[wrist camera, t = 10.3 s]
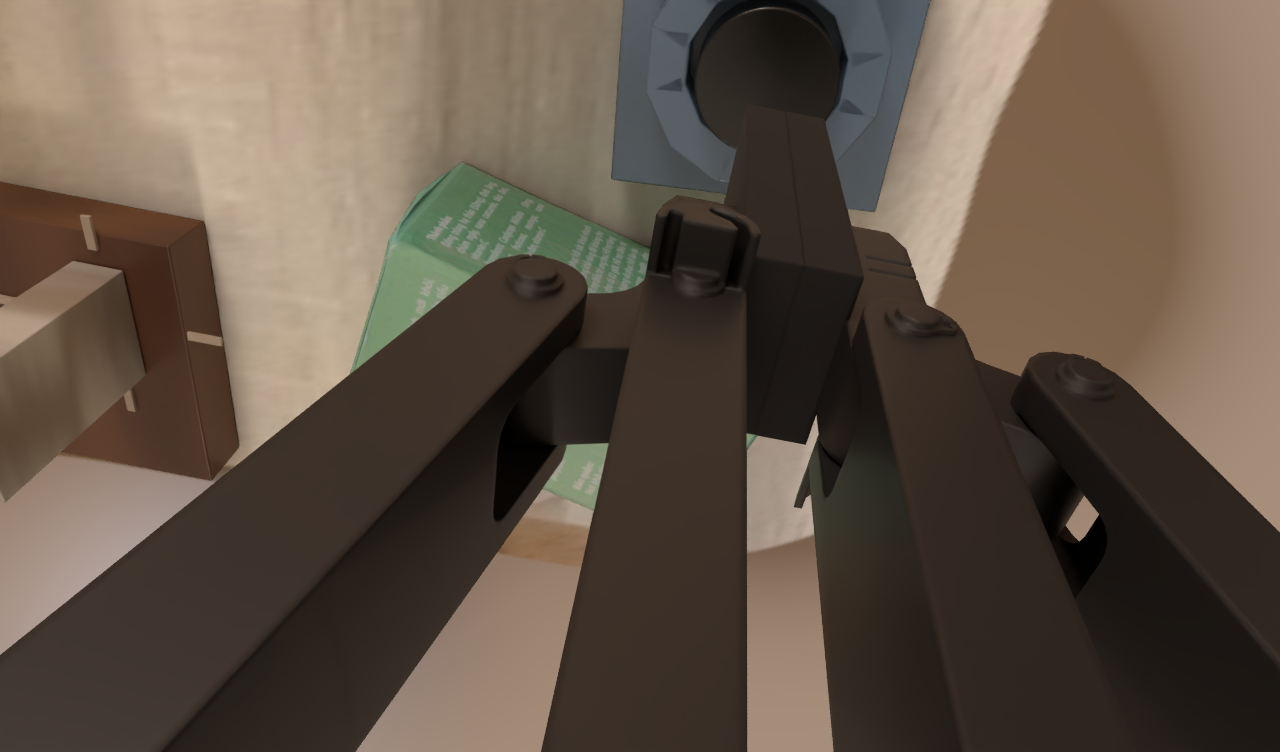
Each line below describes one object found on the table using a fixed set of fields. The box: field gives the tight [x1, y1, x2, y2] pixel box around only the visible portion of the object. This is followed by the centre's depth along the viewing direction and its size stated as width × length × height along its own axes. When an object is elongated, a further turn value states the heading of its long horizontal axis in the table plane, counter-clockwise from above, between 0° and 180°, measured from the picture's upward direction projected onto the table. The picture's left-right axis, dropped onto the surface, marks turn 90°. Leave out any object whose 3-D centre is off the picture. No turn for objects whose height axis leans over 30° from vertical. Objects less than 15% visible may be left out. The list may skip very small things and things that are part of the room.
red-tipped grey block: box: [0, 261, 146, 503], centre depth 30 cm, size 5×2×8 cm, turn 171°
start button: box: [694, 0, 840, 149], centre depth 24 cm, size 4×4×2 cm
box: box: [350, 162, 758, 511], centre depth 30 cm, size 7×14×8 cm, turn 66°
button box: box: [611, 0, 931, 212], centre depth 26 cm, size 9×9×4 cm
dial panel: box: [0, 182, 239, 481], centre depth 35 cm, size 18×13×3 cm
